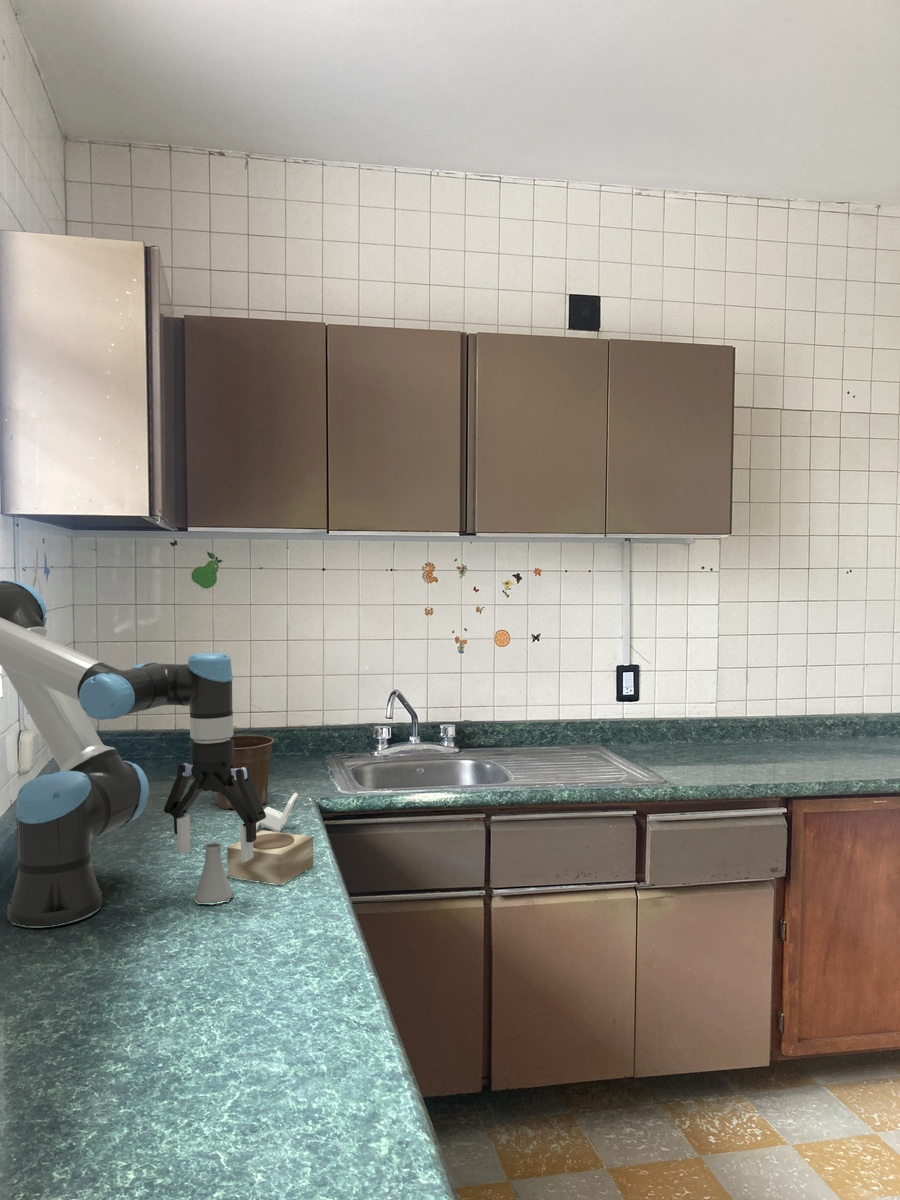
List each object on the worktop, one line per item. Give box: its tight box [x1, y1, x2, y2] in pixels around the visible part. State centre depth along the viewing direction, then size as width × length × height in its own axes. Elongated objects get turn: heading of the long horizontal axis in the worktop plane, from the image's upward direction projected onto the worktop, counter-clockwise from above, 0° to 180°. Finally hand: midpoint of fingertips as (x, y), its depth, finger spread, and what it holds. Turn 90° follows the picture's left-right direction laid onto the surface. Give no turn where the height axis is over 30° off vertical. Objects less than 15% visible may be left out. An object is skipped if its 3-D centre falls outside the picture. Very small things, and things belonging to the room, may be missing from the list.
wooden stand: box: [226, 829, 314, 884], centre depth 176 cm, size 12×12×6 cm
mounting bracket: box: [256, 792, 299, 833], centre depth 201 cm, size 12×6×11 cm, turn 0°
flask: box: [193, 841, 235, 903], centre depth 162 cm, size 7×7×10 cm
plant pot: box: [216, 734, 275, 811], centre depth 226 cm, size 16×16×16 cm
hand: (215, 855), depth 162 cm, fingers open, 13 cm apart
